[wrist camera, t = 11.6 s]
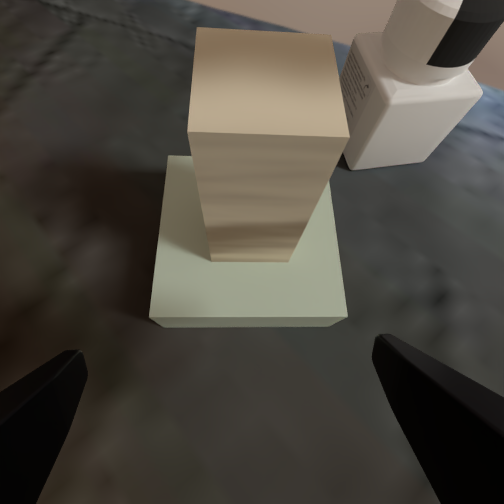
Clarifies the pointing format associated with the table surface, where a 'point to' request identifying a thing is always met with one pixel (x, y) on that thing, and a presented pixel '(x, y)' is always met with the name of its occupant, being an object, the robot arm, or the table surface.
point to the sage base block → (241, 270)
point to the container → (413, 79)
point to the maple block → (263, 137)
